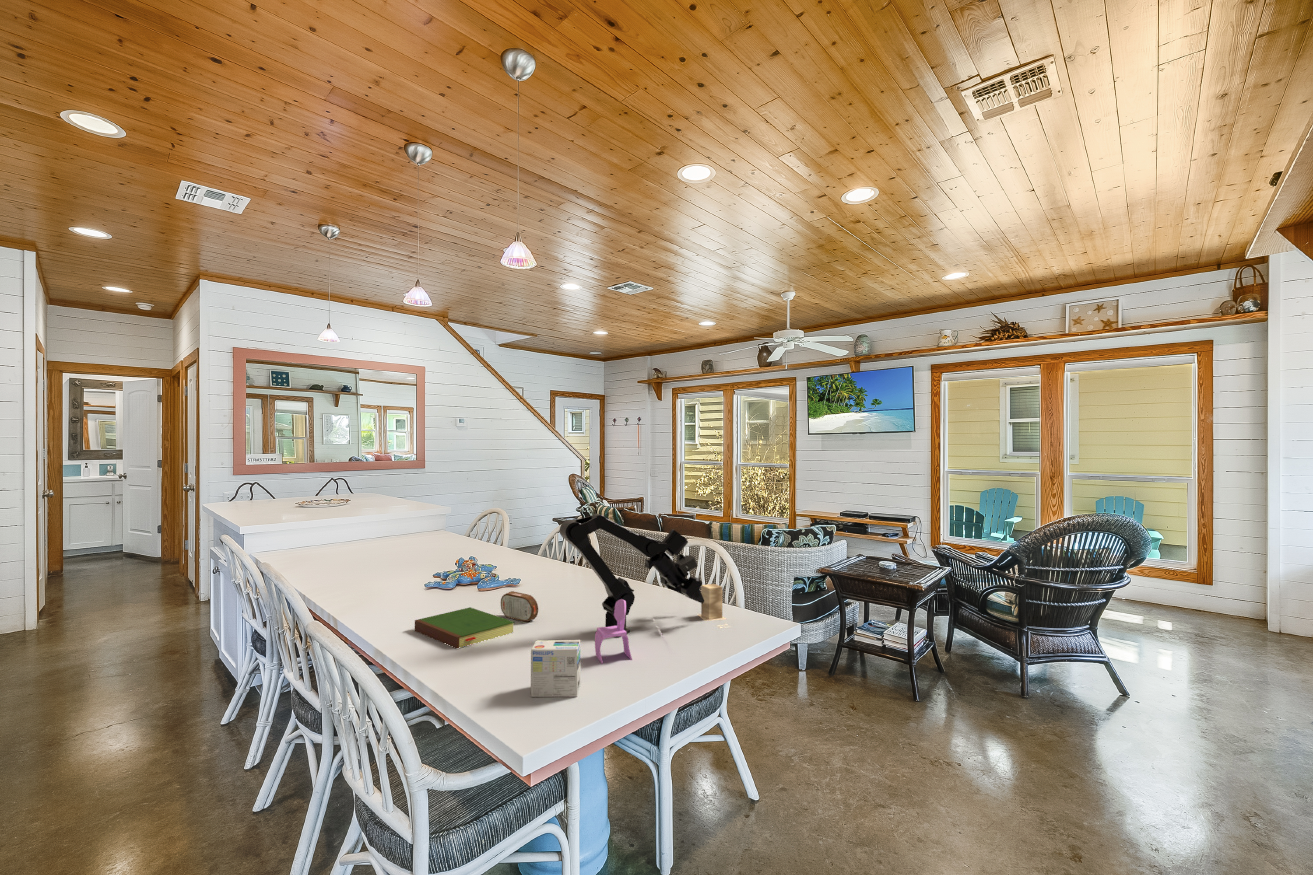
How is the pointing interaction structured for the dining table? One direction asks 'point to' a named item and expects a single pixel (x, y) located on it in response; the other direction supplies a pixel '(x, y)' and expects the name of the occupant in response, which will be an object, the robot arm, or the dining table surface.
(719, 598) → the maple block
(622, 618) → the toy chair
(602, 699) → the dining table surface
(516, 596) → the tin
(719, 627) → the slate board
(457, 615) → the hardcover book
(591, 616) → the dining table surface
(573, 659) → the light bulb box
